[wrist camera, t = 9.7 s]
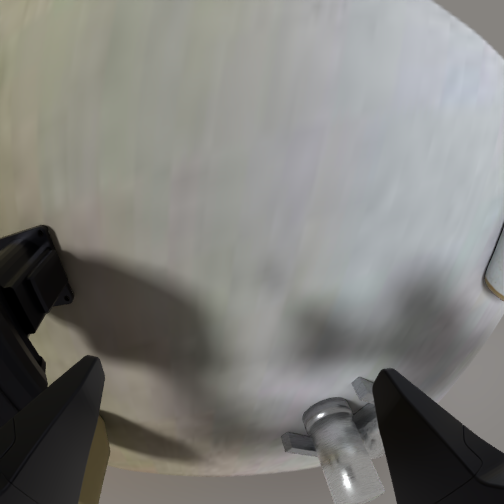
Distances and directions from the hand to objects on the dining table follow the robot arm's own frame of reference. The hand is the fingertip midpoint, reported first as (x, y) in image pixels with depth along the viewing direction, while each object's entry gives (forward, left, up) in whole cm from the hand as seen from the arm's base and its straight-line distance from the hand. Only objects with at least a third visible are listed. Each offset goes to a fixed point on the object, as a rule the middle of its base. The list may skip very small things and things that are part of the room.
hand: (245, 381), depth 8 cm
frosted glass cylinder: (+8, -25, -13) cm, 30 cm away
